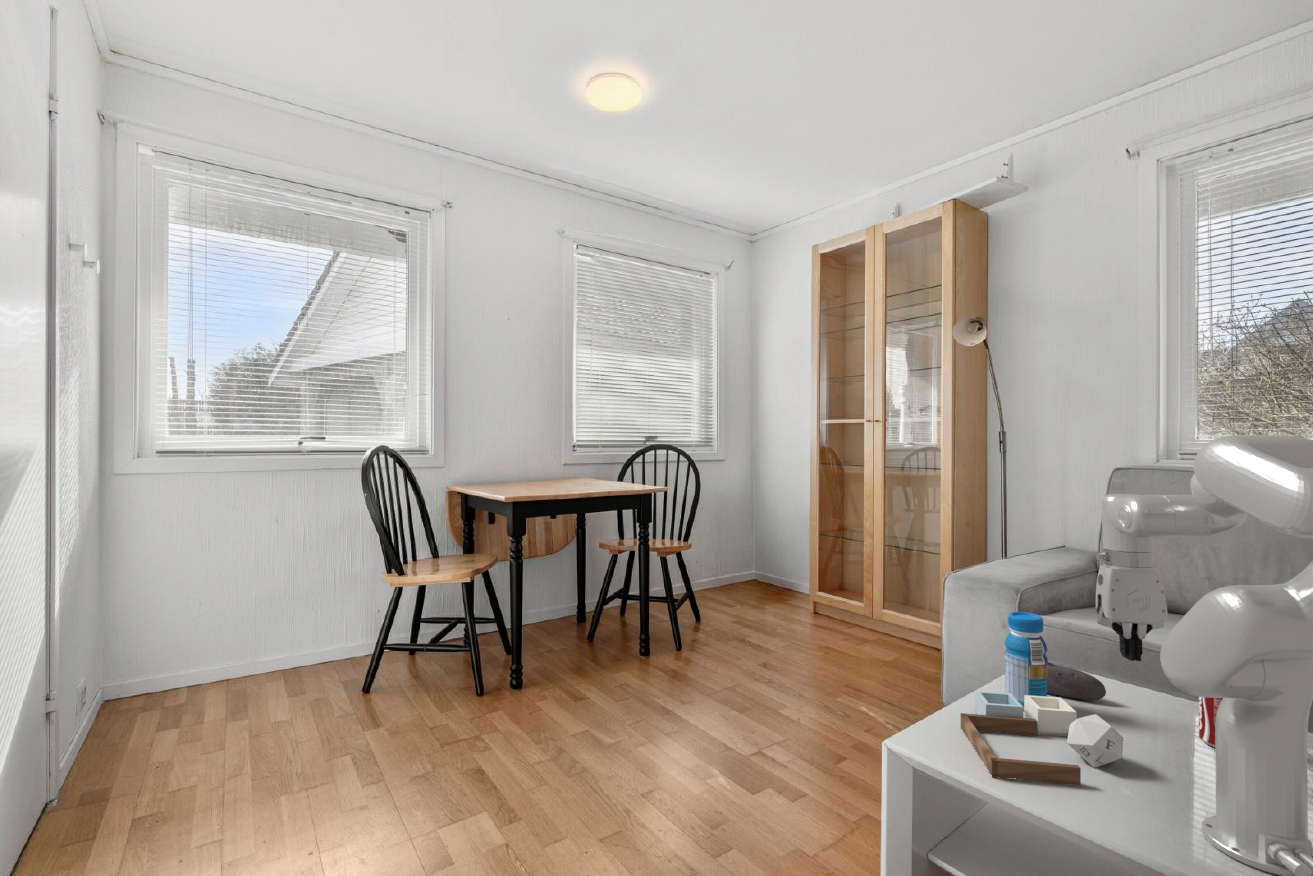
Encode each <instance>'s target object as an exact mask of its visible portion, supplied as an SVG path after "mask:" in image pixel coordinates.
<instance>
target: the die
mask: <svg viewBox="0 0 1313 876" xmlns="http://www.w3.org/2000/svg"><path fill="white" fill-rule="evenodd" d="M1066 740H1067V741H1066V744H1067V745H1068V746H1069V747H1070V748H1071V749H1073V750H1074V751H1075V752H1076V753H1077V754H1078V755H1079V756H1080V757H1081V758H1083V760H1085V761H1086V762H1087V763H1088V764H1089V765H1090V766H1091V767H1092V768H1097V767H1102V766H1104V765H1105V766H1106V765H1109V764H1112V763H1114V762H1116V761H1118V760H1121V759H1122V758H1123V751H1124V749H1123V748H1124V736H1122V734H1120V733H1119V732H1118V731H1117V730H1116V729H1115V728H1114V727H1113V726H1112V725H1110V724H1109V722H1106V721H1105V720H1104V719H1103V718H1101V717H1100V716H1099V715H1098V714H1091V715H1086V716H1083V717H1079V718H1077V719H1076V720H1075V721H1074V722H1072V723H1071V724H1070V726H1069V733H1068V736H1067V739H1066Z"/></svg>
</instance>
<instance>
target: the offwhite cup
mask: <svg viewBox="0 0 1313 876" xmlns="http://www.w3.org/2000/svg"><path fill="white" fill-rule="evenodd" d="M1077 714H1078V713H1077V711H1076V710H1075V709H1074V708H1073V707H1072V706H1071V705H1069V703H1067V702H1066V701H1065V700H1063V698H1062V697H1060V696H1058V697H1056V696H1047V697H1044V696H1030V695H1024V710H1023V718H1030V719H1036V720H1037V735H1043V736H1044V735H1046V736H1057V737H1059V736H1060V737H1068V733H1069V726H1070V724H1071V723H1072V722H1074V721H1075V720H1076V719H1078V718H1077Z"/></svg>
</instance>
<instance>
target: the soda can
mask: <svg viewBox="0 0 1313 876" xmlns="http://www.w3.org/2000/svg"><path fill="white" fill-rule="evenodd" d="M1222 699H1223V698H1209V697H1199V696H1198V736H1199V739H1200V740H1201V741H1202V742H1204V743H1205V744H1206V745H1208V746H1210V747H1212V746H1214V747H1215V732H1216V730H1215V723H1216V715H1217V711H1218V708H1219V705H1220V703H1221V701H1222ZM1214 747H1213V748H1214Z"/></svg>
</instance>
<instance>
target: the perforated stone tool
mask: <svg viewBox="0 0 1313 876" xmlns="http://www.w3.org/2000/svg"><path fill="white" fill-rule="evenodd" d="M1106 693H1107V690H1106V686H1105V685H1104V683H1102V681H1101V680H1099V679H1097V678H1096V677H1094V676H1093V675H1091V674H1089V673H1086V672H1084V671H1082V670H1080V669H1076V668H1074V667H1073V668H1072V667H1069V666H1065V665H1062V664H1057V663H1053V662H1049V661H1048V665H1047V694H1049V695H1055V696H1058V697H1065V698H1070V699H1076V700H1082V701H1099V700H1101V699H1104V698H1105V696H1106Z"/></svg>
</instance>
